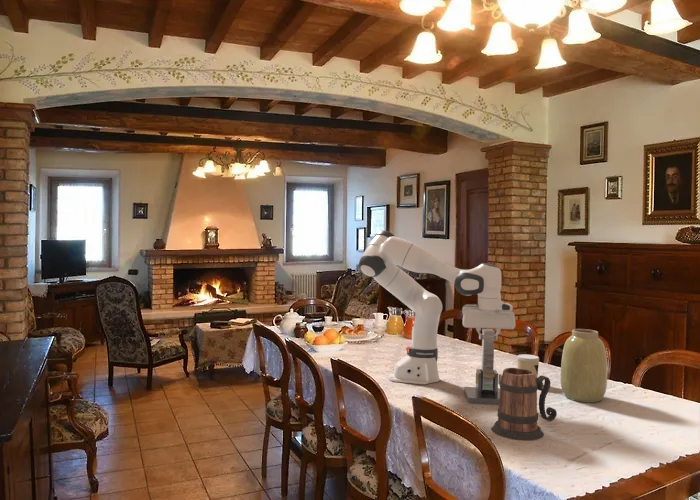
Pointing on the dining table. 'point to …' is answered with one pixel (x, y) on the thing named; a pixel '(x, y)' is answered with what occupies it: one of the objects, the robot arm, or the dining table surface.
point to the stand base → (484, 395)
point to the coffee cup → (528, 363)
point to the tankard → (521, 405)
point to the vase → (584, 366)
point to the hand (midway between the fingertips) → (488, 339)
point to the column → (487, 358)
